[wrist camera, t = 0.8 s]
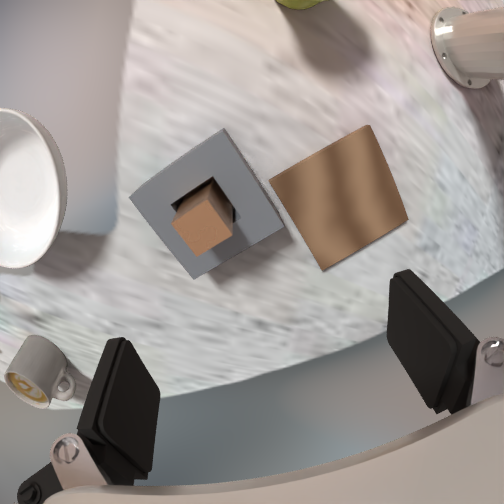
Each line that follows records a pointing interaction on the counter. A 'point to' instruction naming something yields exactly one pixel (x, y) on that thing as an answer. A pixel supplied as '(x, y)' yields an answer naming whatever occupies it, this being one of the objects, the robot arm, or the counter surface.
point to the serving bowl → (28, 189)
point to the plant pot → (299, 3)
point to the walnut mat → (341, 197)
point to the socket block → (234, 186)
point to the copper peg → (204, 217)
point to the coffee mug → (39, 373)
